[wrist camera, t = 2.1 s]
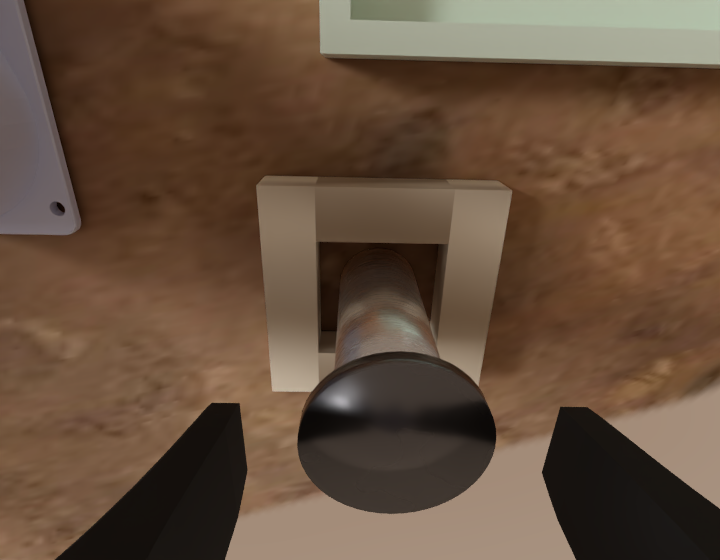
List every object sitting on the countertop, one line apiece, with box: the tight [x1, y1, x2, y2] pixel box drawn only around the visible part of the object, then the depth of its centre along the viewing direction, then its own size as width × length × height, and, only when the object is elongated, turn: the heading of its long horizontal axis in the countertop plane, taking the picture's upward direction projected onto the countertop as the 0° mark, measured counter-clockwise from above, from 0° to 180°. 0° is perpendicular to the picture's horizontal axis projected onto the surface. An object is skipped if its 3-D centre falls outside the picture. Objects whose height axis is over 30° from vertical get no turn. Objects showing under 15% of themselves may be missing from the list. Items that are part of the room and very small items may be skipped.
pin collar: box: [256, 176, 512, 392], centre depth 16 cm, size 8×8×2 cm
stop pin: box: [297, 248, 496, 514], centre depth 13 cm, size 4×4×8 cm
